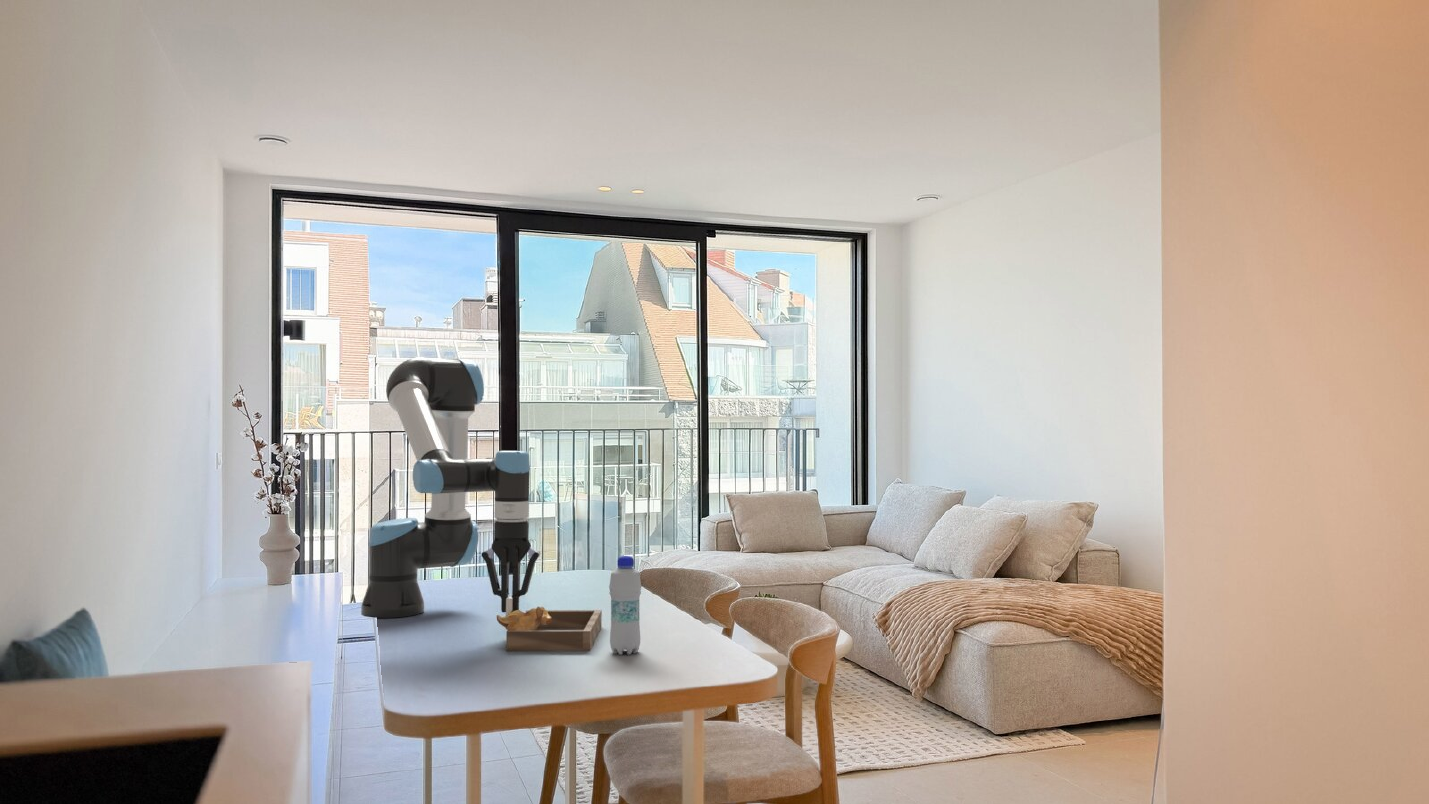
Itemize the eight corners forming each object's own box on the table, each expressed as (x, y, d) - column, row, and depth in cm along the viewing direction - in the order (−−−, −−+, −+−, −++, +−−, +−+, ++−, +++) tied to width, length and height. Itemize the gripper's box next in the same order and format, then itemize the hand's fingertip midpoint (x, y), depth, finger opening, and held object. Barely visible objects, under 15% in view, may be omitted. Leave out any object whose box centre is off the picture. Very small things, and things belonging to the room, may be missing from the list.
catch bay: (526, 627, 229) (526, 610, 229) (601, 627, 229) (601, 610, 229) (506, 650, 205) (506, 631, 205) (590, 650, 205) (590, 631, 205)
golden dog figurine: (546, 636, 219) (547, 599, 220) (558, 645, 210) (559, 606, 211) (493, 640, 214) (493, 602, 215) (502, 649, 205) (503, 609, 206)
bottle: (646, 650, 205) (646, 554, 206) (633, 657, 199) (633, 558, 200) (617, 647, 208) (617, 553, 208) (603, 654, 201) (603, 557, 202)
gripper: (478, 521, 214) (476, 630, 213) (537, 521, 214) (536, 630, 213) (486, 518, 221) (484, 623, 220) (543, 518, 221) (541, 624, 220)
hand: (509, 627), depth 217 cm, fingers closed
